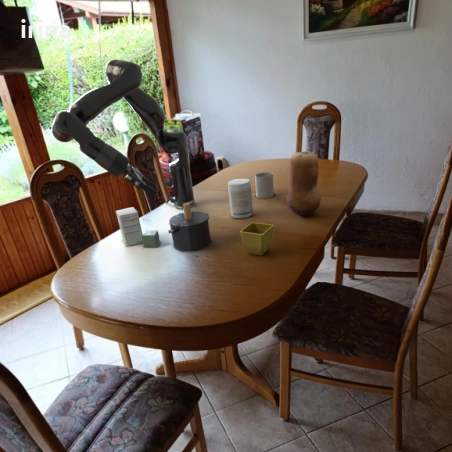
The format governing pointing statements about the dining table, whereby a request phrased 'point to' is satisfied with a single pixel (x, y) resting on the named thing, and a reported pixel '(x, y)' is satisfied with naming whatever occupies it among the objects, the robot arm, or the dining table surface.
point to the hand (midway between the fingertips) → (152, 189)
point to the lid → (188, 218)
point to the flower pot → (257, 237)
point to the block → (150, 239)
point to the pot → (191, 237)
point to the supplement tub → (240, 198)
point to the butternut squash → (304, 184)
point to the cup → (264, 185)
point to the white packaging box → (130, 226)
